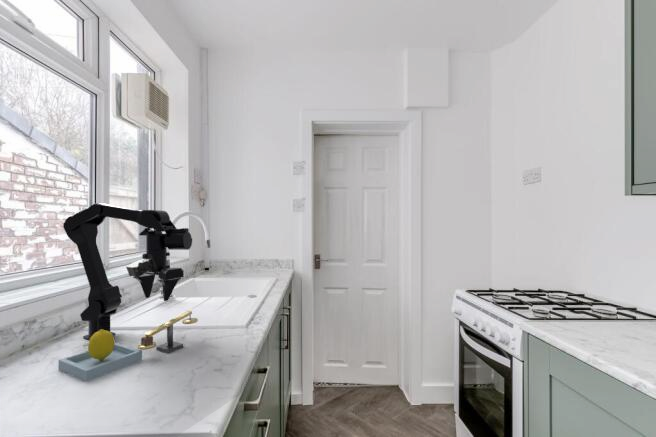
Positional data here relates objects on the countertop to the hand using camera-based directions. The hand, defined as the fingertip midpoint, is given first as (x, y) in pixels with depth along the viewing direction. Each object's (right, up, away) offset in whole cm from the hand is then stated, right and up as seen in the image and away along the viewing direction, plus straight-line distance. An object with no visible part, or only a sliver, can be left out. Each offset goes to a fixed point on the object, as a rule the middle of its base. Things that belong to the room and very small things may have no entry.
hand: (156, 299), depth 102 cm
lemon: (-4, -11, -20) cm, 23 cm away
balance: (+9, -12, -9) cm, 17 cm away
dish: (-4, -12, -20) cm, 23 cm away
